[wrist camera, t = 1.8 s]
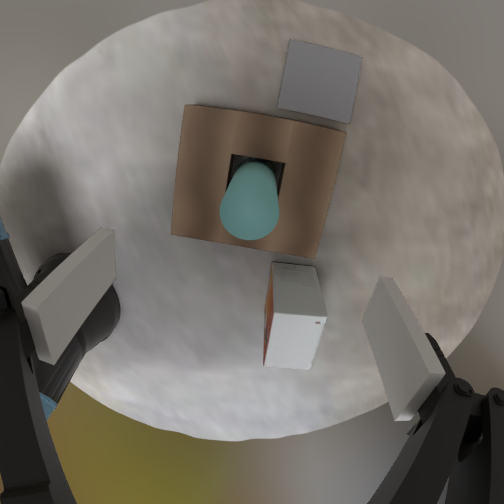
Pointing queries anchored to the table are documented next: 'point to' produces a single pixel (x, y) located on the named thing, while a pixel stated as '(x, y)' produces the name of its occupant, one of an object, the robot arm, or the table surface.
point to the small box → (293, 317)
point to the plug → (251, 200)
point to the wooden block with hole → (259, 146)
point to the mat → (319, 81)
